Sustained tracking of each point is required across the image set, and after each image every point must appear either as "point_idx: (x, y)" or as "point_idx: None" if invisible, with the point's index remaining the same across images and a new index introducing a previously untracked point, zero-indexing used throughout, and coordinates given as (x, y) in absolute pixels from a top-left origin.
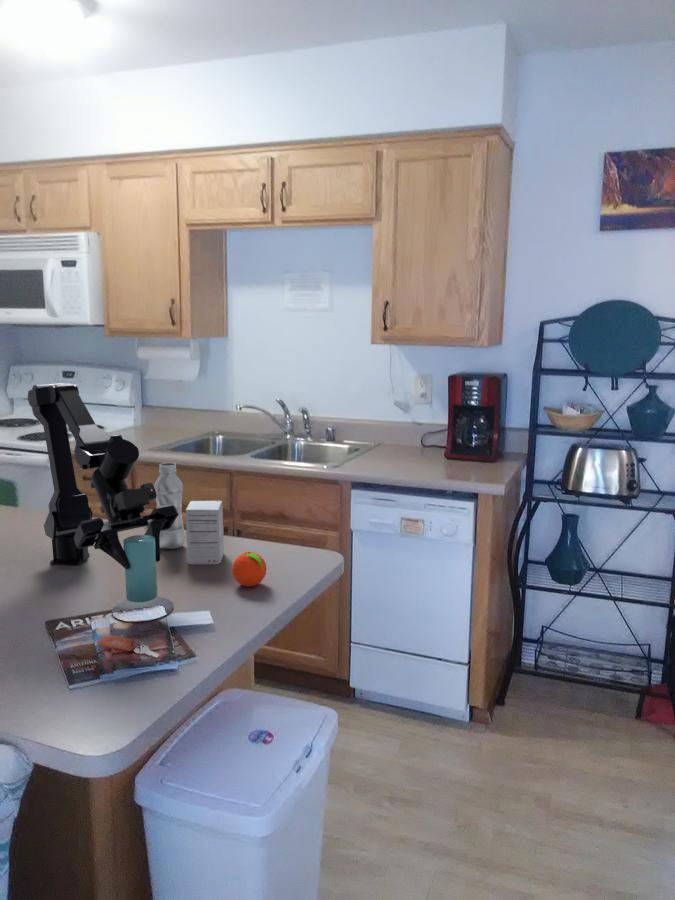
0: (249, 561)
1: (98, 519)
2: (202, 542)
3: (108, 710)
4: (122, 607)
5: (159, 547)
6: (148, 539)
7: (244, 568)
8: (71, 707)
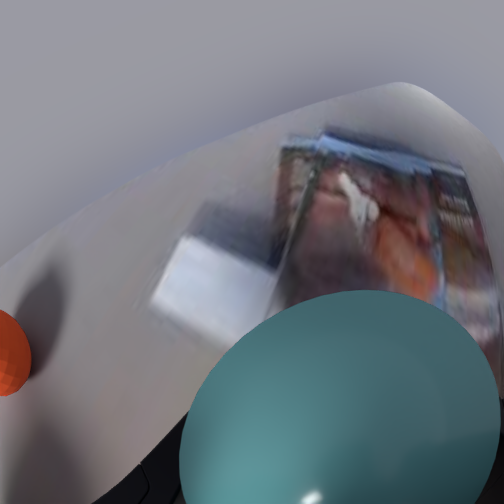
0: None
1: None
2: None
3: (414, 115)
4: None
5: (169, 435)
6: (273, 414)
7: (1, 324)
8: (452, 138)
